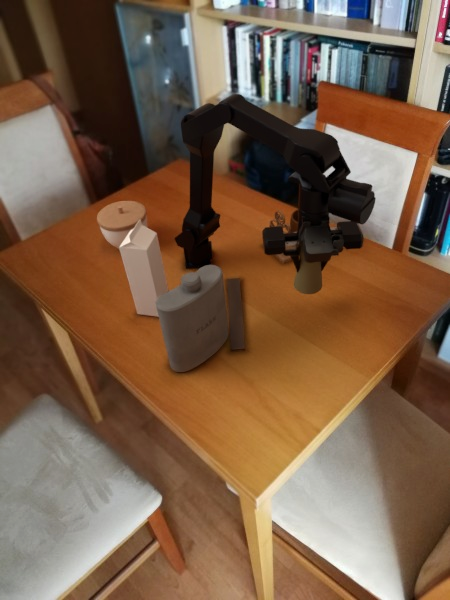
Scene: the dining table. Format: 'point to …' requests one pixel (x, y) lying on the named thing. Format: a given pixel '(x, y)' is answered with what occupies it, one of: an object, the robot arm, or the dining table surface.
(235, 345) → the walnut ruler
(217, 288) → the flask
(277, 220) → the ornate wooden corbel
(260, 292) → the dining table surface
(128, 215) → the lidded bowl
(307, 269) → the olive pepper mill
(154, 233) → the milk
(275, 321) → the dining table surface
